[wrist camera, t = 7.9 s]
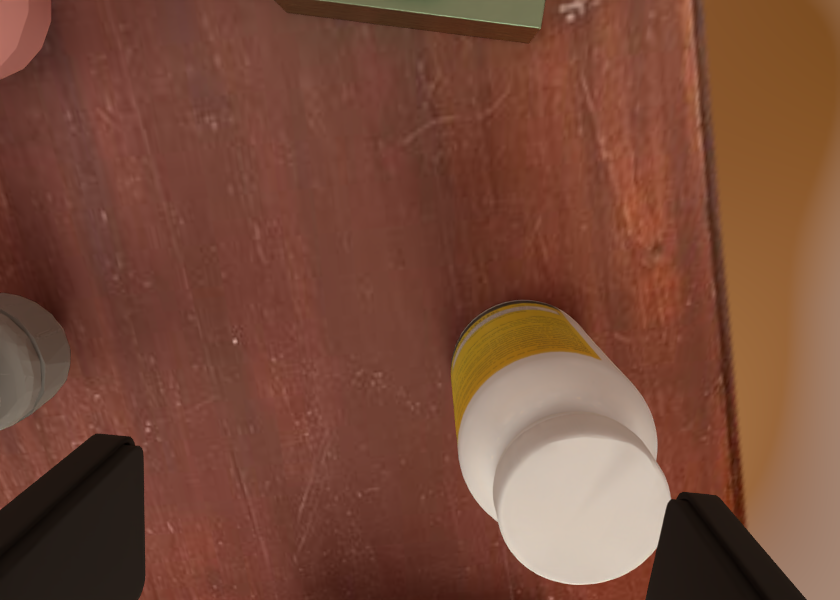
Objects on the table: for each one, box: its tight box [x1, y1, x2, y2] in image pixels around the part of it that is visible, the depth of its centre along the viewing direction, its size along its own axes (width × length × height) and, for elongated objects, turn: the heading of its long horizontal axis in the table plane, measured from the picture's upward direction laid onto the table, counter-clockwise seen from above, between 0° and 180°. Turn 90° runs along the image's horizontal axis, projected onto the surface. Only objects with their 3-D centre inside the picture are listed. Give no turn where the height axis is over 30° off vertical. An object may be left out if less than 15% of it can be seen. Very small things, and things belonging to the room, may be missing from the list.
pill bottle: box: [451, 300, 671, 585], centre depth 21 cm, size 6×6×12 cm
